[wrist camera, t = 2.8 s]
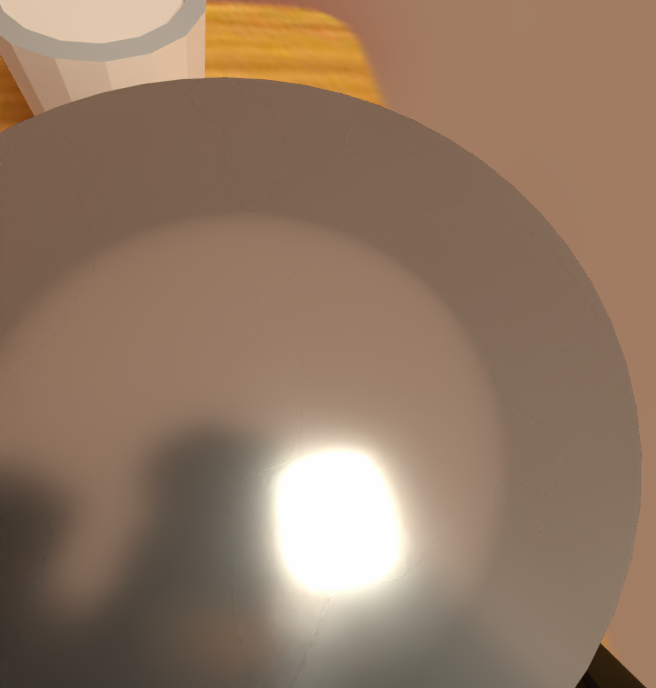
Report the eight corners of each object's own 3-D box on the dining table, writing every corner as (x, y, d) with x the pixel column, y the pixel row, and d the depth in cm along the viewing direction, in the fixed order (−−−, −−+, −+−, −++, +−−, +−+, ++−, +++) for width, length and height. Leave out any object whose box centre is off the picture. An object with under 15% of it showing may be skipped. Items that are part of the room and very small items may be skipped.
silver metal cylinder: (337, 683, 15) (732, 946, 3) (126, 658, 15) (-525, 831, 2) (355, 476, 18) (590, 137, 5) (177, 451, 17) (-3, 28, 5)
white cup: (10, 170, 22) (-86, -11, 16) (123, 80, 25) (81, -99, 19) (150, 250, 21) (108, 91, 15) (249, 146, 24) (249, -20, 18)
